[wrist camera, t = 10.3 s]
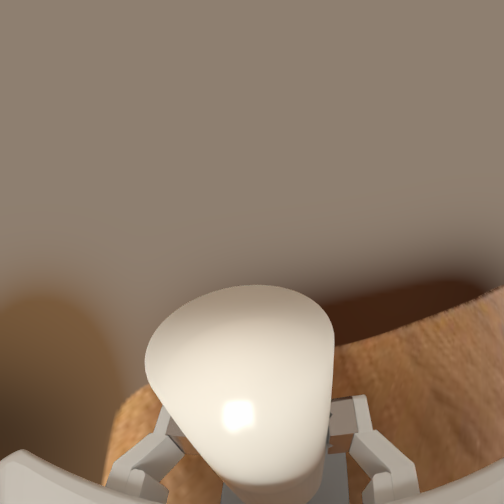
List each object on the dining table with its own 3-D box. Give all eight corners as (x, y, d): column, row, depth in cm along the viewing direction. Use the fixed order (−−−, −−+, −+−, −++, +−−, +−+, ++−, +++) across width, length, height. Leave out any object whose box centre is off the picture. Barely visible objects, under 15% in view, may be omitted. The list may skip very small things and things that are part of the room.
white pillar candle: (259, 429, 15) (214, 275, 10) (335, 453, 12) (355, 298, 8) (215, 491, 11) (110, 368, 6) (297, 525, 9) (280, 457, 4)
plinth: (241, 456, 20) (230, 437, 18) (339, 451, 18) (343, 431, 17) (230, 539, 12) (215, 535, 11) (343, 537, 11) (350, 533, 9)
